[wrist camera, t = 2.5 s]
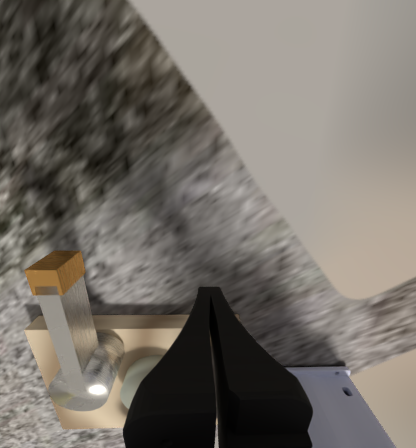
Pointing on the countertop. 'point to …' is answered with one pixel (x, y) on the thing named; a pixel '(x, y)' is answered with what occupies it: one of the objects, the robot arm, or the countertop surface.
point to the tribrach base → (130, 367)
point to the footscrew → (74, 333)
